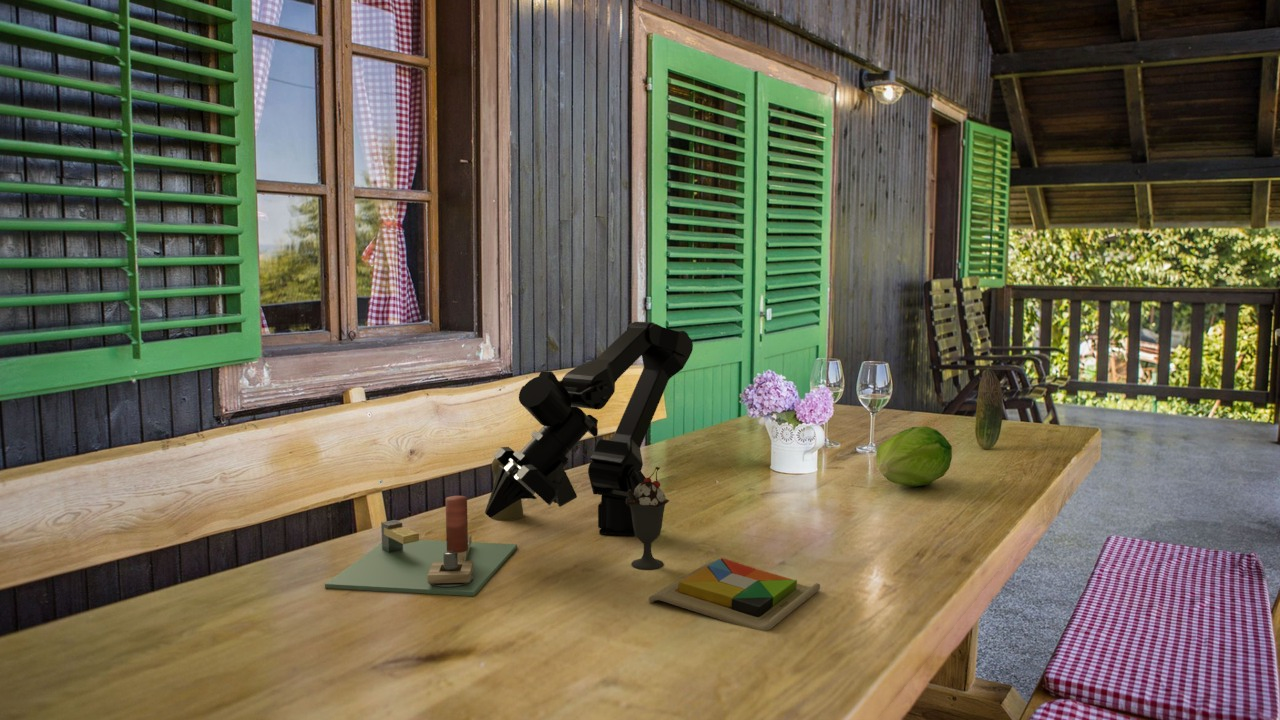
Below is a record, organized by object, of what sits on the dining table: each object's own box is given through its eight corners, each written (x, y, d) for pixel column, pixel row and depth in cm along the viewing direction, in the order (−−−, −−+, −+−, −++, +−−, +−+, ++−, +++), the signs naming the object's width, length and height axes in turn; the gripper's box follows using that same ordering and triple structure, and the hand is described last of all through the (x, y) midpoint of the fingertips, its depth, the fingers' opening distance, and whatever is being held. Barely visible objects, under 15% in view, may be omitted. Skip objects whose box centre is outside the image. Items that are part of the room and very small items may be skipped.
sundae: (674, 560, 146) (675, 465, 144) (661, 573, 140) (661, 475, 138) (634, 555, 148) (634, 462, 146) (619, 568, 142) (619, 471, 140)
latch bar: (469, 582, 132) (468, 518, 131) (427, 583, 132) (426, 519, 131) (480, 541, 151) (479, 486, 150) (444, 542, 150) (443, 486, 149)
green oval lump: (850, 490, 189) (852, 432, 188) (903, 474, 203) (904, 420, 202) (912, 503, 179) (914, 442, 178) (963, 485, 193) (965, 428, 192)
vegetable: (971, 445, 234) (974, 366, 232) (997, 446, 234) (1001, 366, 231) (976, 450, 228) (980, 369, 226) (1003, 451, 228) (1007, 369, 225)
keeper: (381, 553, 149) (380, 522, 148) (396, 549, 151) (395, 519, 150) (403, 565, 143) (403, 533, 143) (419, 561, 145) (418, 530, 144)
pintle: (479, 577, 138) (478, 547, 137) (465, 593, 131) (464, 561, 131) (437, 575, 139) (437, 545, 138) (421, 590, 132) (420, 559, 132)
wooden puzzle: (772, 637, 118) (773, 610, 117) (644, 607, 128) (644, 582, 127) (823, 595, 132) (823, 571, 132) (704, 571, 142) (705, 548, 142)
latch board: (517, 547, 152) (517, 544, 152) (474, 596, 130) (473, 592, 130) (388, 541, 155) (388, 538, 155) (324, 588, 133) (324, 583, 133)
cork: (517, 521, 167) (516, 460, 166) (485, 519, 168) (484, 459, 167) (527, 512, 173) (527, 453, 172) (496, 510, 174) (496, 452, 173)
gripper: (610, 485, 141) (540, 565, 138) (572, 460, 159) (509, 531, 156) (559, 437, 138) (486, 518, 135) (526, 417, 155) (461, 489, 152)
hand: (487, 515), depth 144 cm, fingers closed
